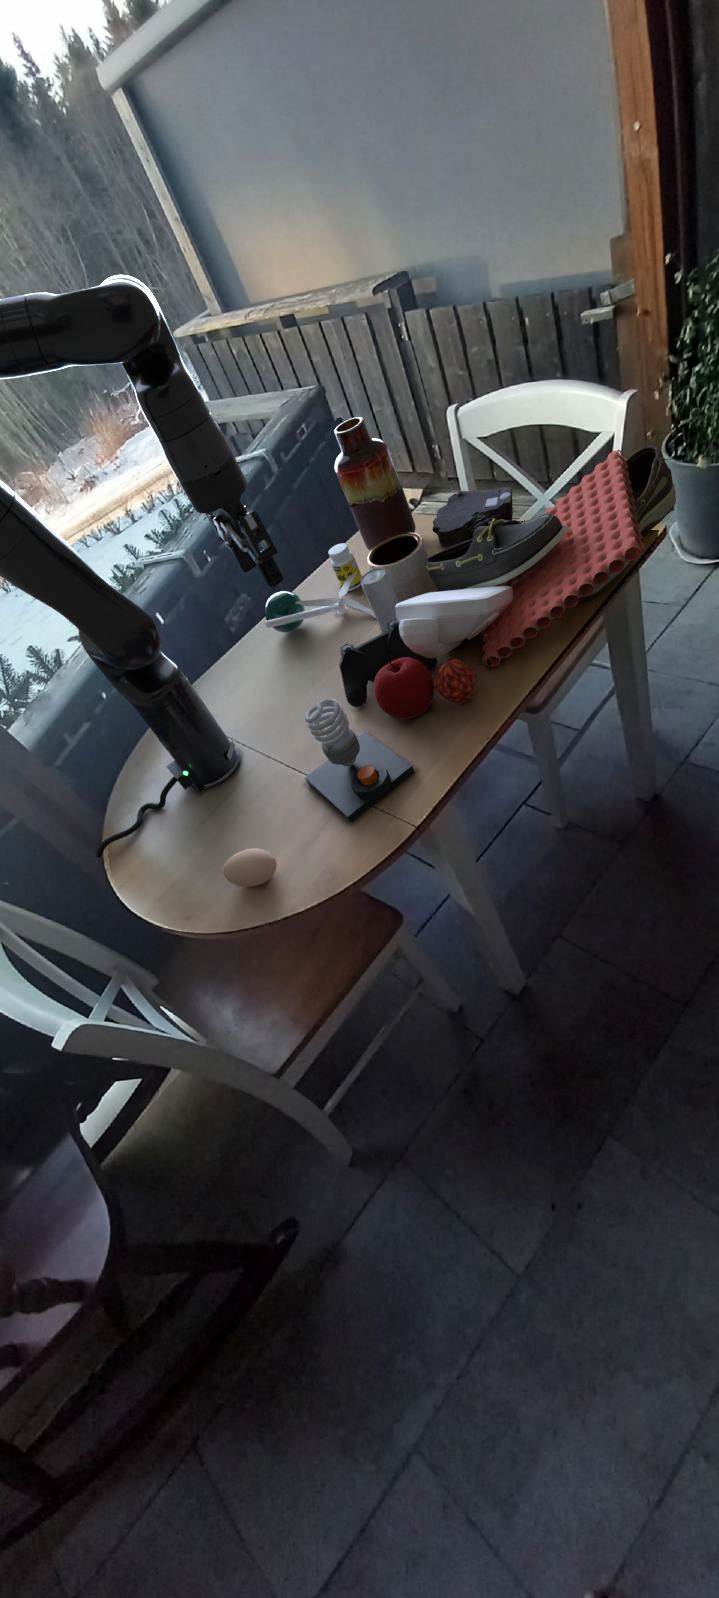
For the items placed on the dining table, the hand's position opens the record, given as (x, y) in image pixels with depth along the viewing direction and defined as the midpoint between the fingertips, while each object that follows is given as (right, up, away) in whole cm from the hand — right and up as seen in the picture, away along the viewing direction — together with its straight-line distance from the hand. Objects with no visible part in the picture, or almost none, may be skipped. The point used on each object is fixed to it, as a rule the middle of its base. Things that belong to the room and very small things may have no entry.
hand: (263, 575), depth 102 cm
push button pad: (+13, -27, +10) cm, 32 cm away
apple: (+22, -16, +16) cm, 32 cm away
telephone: (+28, +2, +15) cm, 32 cm away
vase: (+21, +22, +54) cm, 62 cm away
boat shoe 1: (+37, +6, +21) cm, 43 cm away
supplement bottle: (+12, +13, +51) cm, 54 cm away
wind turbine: (-5, +2, +39) cm, 40 cm away
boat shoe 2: (+56, +11, +24) cm, 62 cm away
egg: (+2, -39, 0) cm, 39 cm away
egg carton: (+45, +7, +15) cm, 48 cm away
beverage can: (+20, -1, +33) cm, 38 cm away
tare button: (+15, -28, +5) cm, 32 cm away
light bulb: (+12, -25, +11) cm, 30 cm away
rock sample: (+37, +24, +48) cm, 65 cm away
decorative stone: (+29, -16, +13) cm, 36 cm away
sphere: (0, +4, +48) cm, 48 cm away
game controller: (+18, -10, +24) cm, 32 cm away
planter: (+23, +8, +40) cm, 47 cm away
